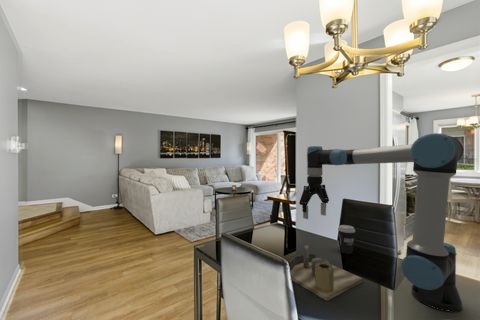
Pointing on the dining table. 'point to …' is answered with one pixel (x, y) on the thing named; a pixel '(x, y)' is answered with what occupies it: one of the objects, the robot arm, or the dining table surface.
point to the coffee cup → (346, 238)
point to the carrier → (305, 275)
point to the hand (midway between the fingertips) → (314, 216)
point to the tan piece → (324, 277)
